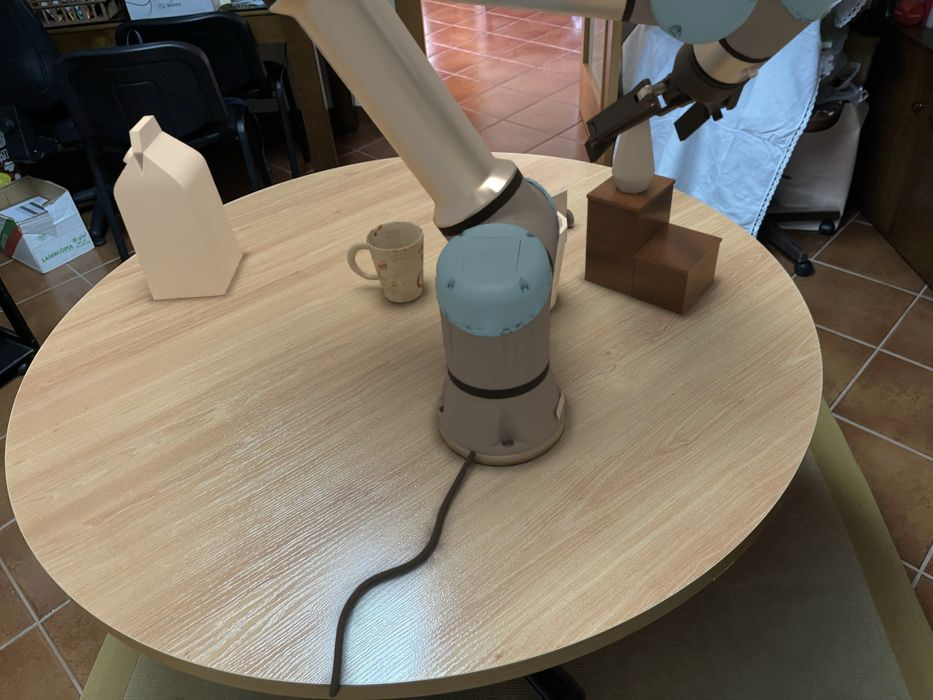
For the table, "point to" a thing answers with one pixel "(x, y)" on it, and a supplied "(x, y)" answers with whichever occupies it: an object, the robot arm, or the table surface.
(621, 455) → the table surface
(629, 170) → the salt shaker
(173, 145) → the milk
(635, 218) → the step shelf
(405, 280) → the mug
